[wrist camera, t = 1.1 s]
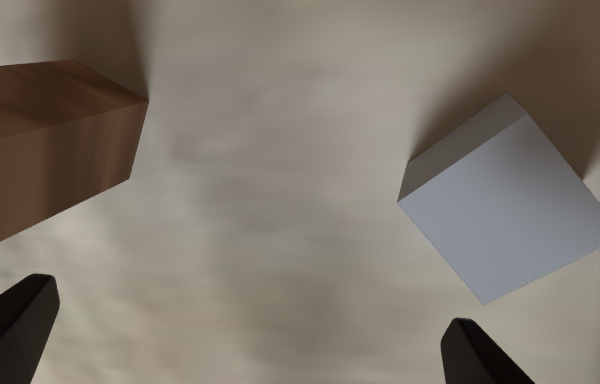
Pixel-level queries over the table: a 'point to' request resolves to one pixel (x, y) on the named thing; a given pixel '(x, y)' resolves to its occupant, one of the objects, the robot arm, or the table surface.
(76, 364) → the table surface
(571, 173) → the slate cube
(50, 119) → the walnut block
